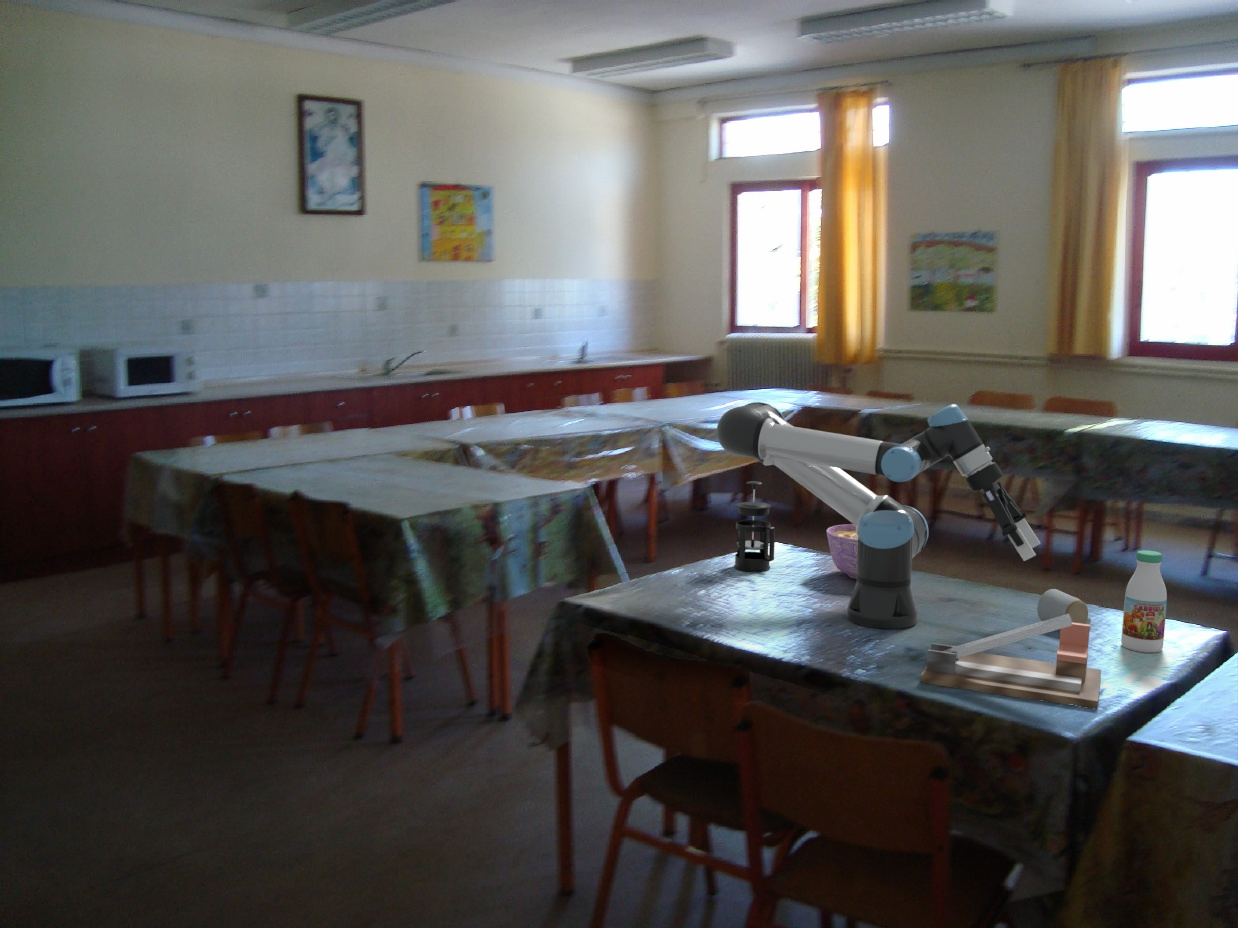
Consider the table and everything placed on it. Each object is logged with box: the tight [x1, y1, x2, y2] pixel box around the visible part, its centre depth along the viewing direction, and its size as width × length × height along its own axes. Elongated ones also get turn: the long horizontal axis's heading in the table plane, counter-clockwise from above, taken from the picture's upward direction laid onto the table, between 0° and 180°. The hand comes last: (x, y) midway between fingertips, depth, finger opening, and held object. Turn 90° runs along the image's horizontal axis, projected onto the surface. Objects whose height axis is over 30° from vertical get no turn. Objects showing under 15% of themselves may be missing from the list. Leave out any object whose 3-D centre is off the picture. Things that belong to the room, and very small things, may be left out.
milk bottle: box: [1120, 549, 1168, 654], centre depth 220 cm, size 8×8×20 cm
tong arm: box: [941, 614, 1072, 658], centre depth 198 cm, size 24×3×2 cm, turn 64°
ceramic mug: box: [1036, 588, 1092, 625], centre depth 236 cm, size 11×8×8 cm
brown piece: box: [920, 642, 1102, 710], centre depth 202 cm, size 30×18×6 cm, turn 65°
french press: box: [733, 480, 776, 573], centre depth 283 cm, size 12×9×23 cm
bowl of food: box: [826, 523, 858, 580], centre depth 277 cm, size 20×20×12 cm
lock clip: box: [1056, 622, 1091, 664], centre depth 201 cm, size 5×8×5 cm, turn 155°
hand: (1032, 552), depth 237 cm, fingers open, 13 cm apart
